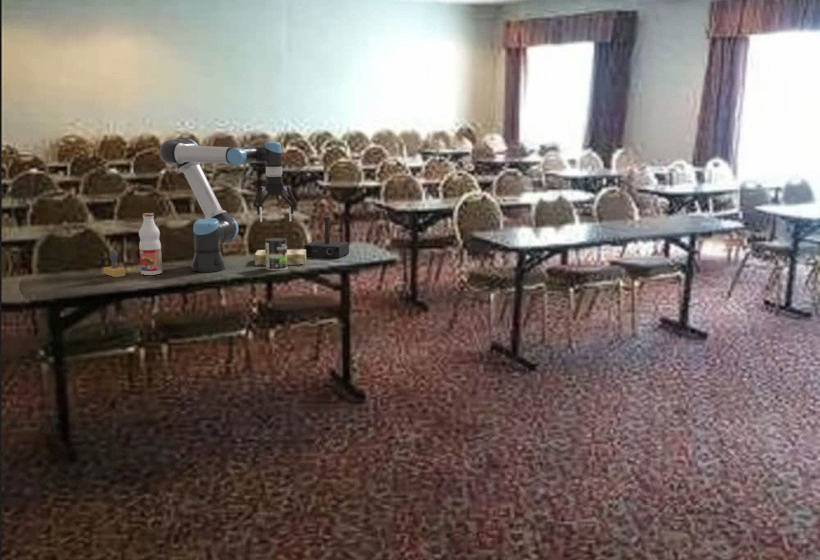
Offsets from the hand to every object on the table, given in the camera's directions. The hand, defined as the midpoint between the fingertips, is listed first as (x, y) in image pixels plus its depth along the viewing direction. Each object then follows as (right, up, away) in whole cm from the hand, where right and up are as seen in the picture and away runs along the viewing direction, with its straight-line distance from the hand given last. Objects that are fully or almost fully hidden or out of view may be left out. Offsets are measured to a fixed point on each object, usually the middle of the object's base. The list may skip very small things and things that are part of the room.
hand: (275, 221), depth 409 cm
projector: (+20, -15, +39) cm, 46 cm away
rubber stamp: (-71, -26, -13) cm, 77 cm away
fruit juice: (-55, -25, -9) cm, 61 cm away
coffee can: (0, -22, +5) cm, 23 cm away
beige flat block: (-1, -19, +20) cm, 28 cm away
